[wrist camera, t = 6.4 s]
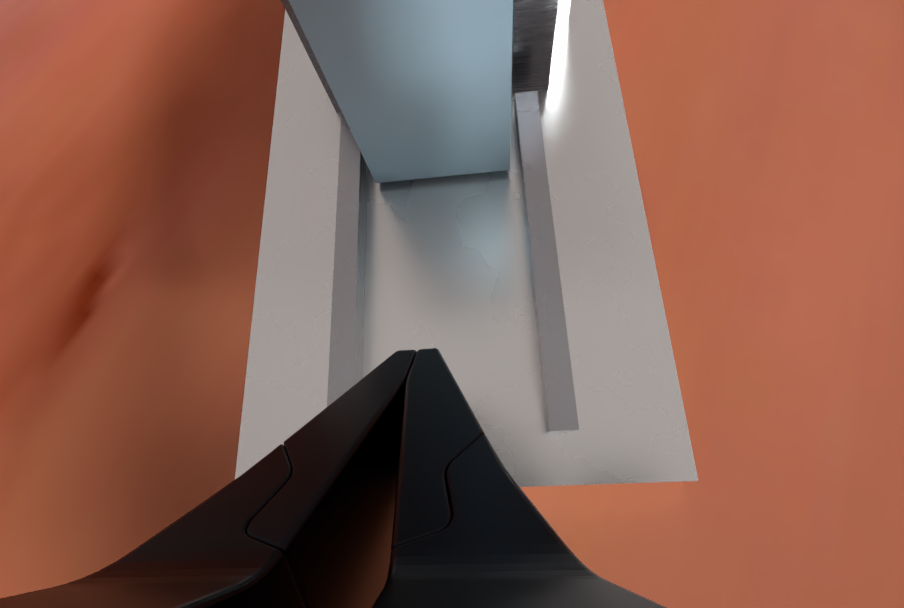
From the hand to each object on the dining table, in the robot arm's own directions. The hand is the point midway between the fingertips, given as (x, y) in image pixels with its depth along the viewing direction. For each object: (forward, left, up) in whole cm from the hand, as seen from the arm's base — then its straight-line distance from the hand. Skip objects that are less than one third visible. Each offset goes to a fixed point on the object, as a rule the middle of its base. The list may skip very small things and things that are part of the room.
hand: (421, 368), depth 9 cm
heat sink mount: (+7, -6, -7) cm, 11 cm away
